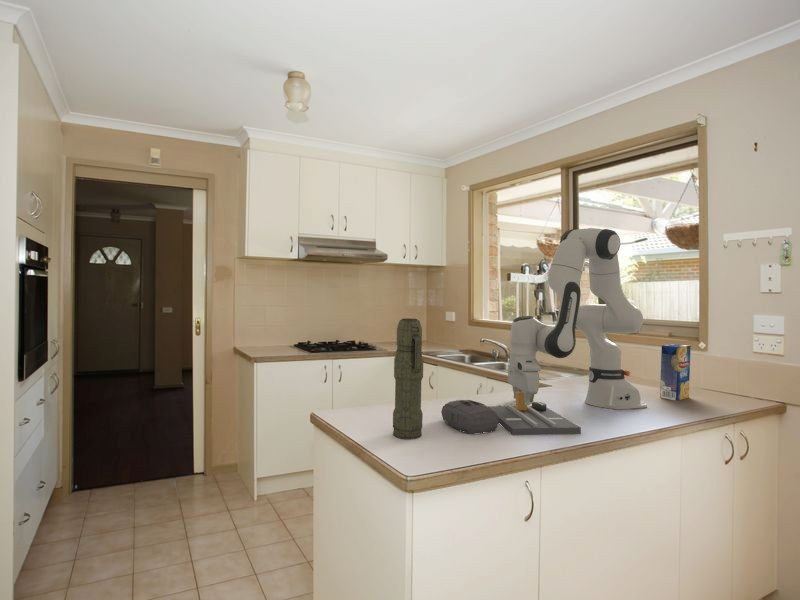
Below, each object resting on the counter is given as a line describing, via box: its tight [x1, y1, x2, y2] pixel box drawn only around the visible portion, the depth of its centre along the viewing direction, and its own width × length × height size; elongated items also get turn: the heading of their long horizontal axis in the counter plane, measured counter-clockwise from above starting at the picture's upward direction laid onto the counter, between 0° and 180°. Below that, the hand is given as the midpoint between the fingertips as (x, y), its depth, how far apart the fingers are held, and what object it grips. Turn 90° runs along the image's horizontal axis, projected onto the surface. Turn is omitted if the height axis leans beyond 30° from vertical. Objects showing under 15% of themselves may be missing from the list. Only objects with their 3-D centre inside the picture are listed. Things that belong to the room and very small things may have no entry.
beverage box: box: [659, 343, 692, 402], centre depth 211 cm, size 7×11×22 cm, turn 127°
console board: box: [486, 401, 582, 436], centre depth 168 cm, size 22×28×4 cm
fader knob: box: [515, 392, 527, 411], centre depth 176 cm, size 3×3×6 cm
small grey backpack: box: [441, 399, 499, 434], centre depth 163 cm, size 15×8×20 cm
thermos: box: [392, 318, 424, 440], centre depth 150 cm, size 9×12×35 cm
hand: (521, 401), depth 176 cm, fingers open, 8 cm apart
